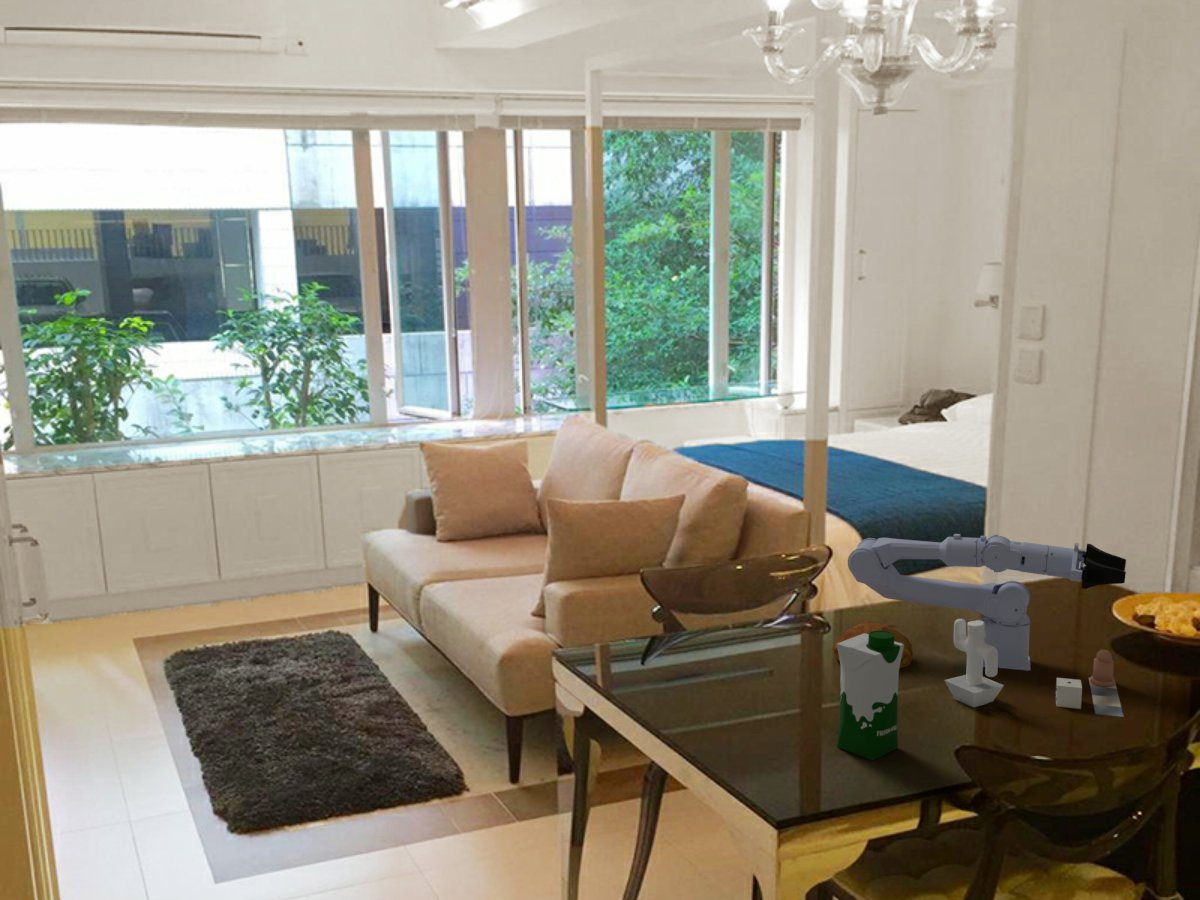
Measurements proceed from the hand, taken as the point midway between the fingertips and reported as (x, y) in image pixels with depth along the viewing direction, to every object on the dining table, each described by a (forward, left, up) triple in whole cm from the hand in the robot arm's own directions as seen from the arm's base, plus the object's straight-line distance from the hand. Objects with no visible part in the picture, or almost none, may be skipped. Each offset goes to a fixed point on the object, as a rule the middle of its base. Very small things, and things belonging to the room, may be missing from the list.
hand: (1125, 571), depth 218 cm
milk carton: (-42, -45, -21) cm, 65 cm away
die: (-10, -17, -21) cm, 28 cm away
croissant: (-46, -3, -21) cm, 50 cm away
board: (-7, -12, -21) cm, 25 cm away
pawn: (-3, -5, -20) cm, 21 cm away
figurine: (-26, -20, -21) cm, 39 cm away
